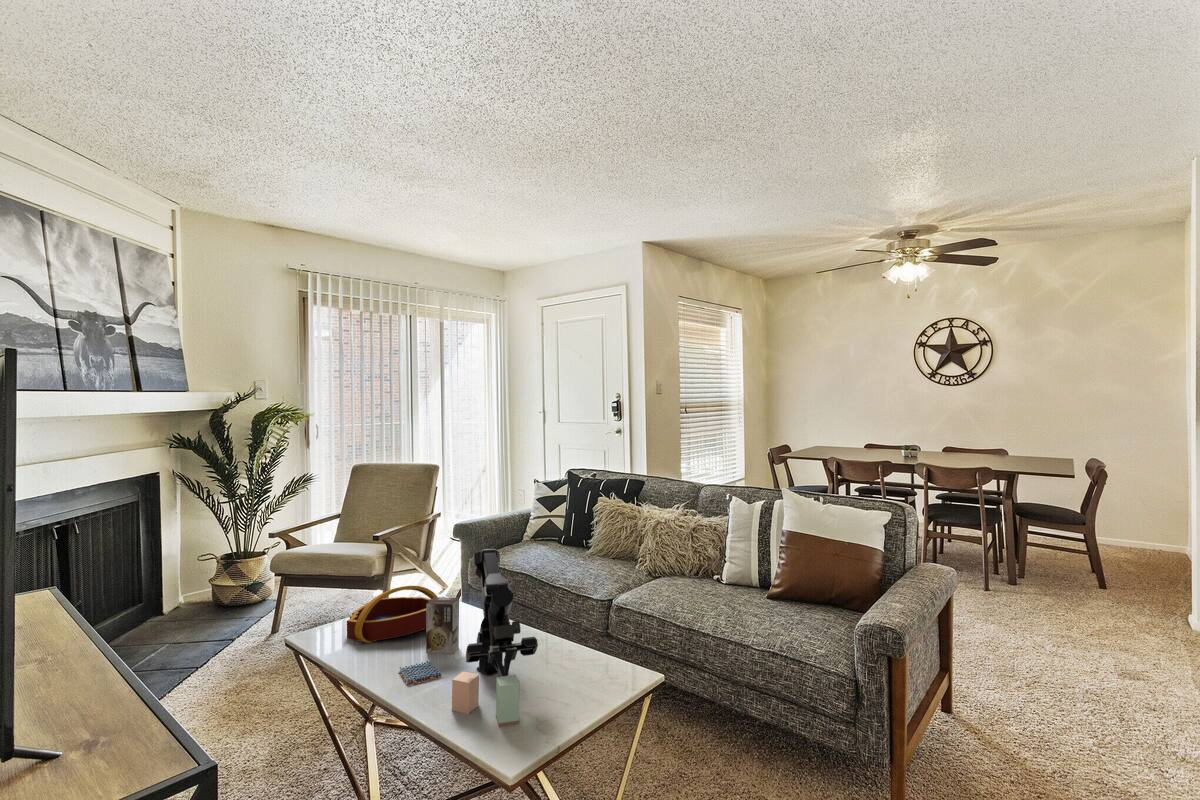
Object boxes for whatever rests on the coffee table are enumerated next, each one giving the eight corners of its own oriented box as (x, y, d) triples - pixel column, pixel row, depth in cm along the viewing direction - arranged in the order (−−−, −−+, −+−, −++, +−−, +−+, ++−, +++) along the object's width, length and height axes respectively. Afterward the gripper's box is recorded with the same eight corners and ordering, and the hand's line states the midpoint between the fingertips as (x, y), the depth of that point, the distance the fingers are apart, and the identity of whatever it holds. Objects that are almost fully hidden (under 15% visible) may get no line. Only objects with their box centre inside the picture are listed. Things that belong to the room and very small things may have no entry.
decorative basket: (419, 614, 227) (416, 575, 229) (464, 620, 209) (461, 578, 210) (334, 641, 201) (331, 597, 202) (377, 651, 183) (374, 603, 184)
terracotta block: (462, 701, 155) (462, 671, 155) (478, 704, 154) (479, 674, 154) (451, 710, 150) (452, 679, 151) (468, 713, 149) (469, 682, 149)
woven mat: (407, 688, 163) (407, 681, 163) (397, 674, 172) (397, 667, 172) (443, 679, 169) (443, 672, 169) (432, 666, 177) (432, 659, 177)
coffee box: (459, 646, 191) (460, 597, 191) (452, 654, 184) (453, 604, 185) (432, 645, 192) (433, 596, 192) (425, 653, 185) (425, 602, 186)
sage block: (495, 716, 148) (496, 677, 148) (515, 713, 149) (515, 674, 149) (498, 726, 143) (499, 686, 143) (518, 723, 145) (519, 683, 145)
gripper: (467, 613, 153) (471, 673, 142) (536, 607, 158) (545, 664, 148) (464, 633, 160) (467, 691, 149) (530, 625, 166) (538, 681, 155)
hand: (505, 681), depth 150 cm, fingers closed
